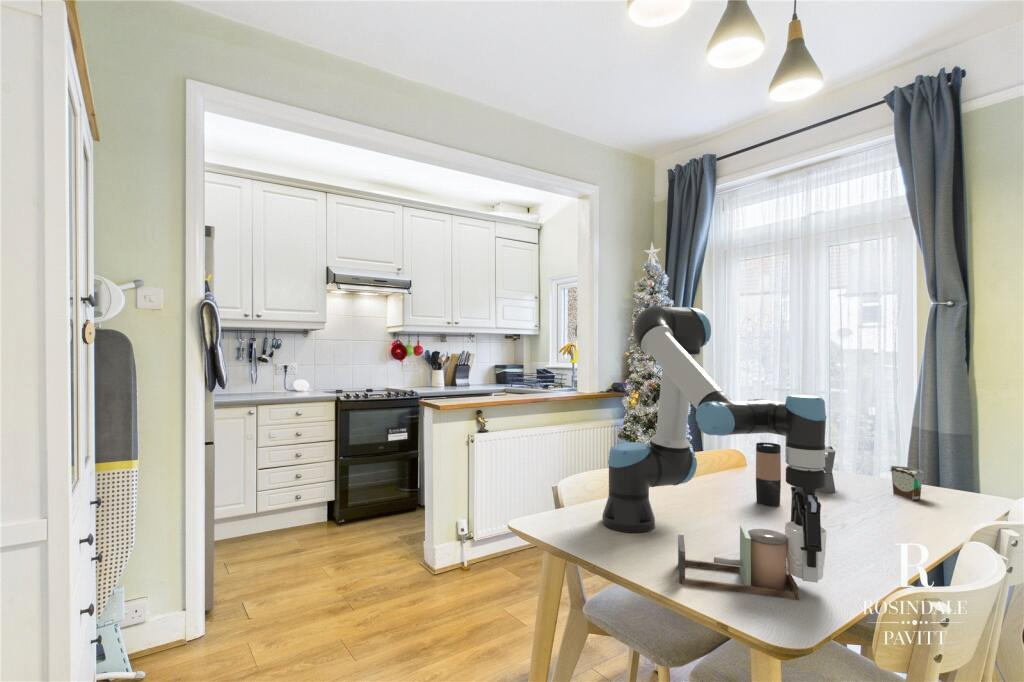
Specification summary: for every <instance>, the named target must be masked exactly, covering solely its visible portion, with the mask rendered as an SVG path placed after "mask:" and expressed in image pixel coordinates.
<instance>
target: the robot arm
mask: <svg viewBox="0 0 1024 682" xmlns="http://www.w3.org/2000/svg"><path fill="white" fill-rule="evenodd" d="M632 331H633V337H634V340H635V342H636V344H637V346H638V347H639V348H640V349H641V351H642V352H643V353H644V354H645V355H647V356H651V357H652V358H653V359H654V360H655V362H656V363H657V364H658V366H660V368H661V370H662V371H661V379H660V389H659V390H660V391H659V401H658V409H657V410H658V411H657V422H656V431H655V434H654V435H652V436H651V437H650V441H649V444H648V443H645V442H639V441H635V442H634V441H633V442H630V441H628V442H622V443H618V444H615V445H613V446H612V447H611V448H610V450H609V452H608V460H607V463H608V497H607V499H606V502H605V503H606V504H605V506H604V508H603V512H602V521H601V522H602V524H603V525H604V526H605V527H606V528H609V529H611V530H615V531H618V532H624V533H645V532H650V531H653V530H654V529H655V527H656V519H655V515H654V512H653V508H652V504H651V502H650V498H649V497H650V488H651V487H652V488H653V487H654V488H655V487H665V486H679V485H682V484H686V483H688V482H689V481H691V480H692V479H693V477H694V476H695V474H696V470H697V469H698V468H697V467H698V461H697V457H695V456H696V452H695V451H694V450H693V448H691V442H690V441H689V440H688V438H686V437H687V428H688V418H689V417H688V416H689V408H690V403H691V405H692V406H693V407H694V408H695V410H696V412H695V421H696V422H697V427H698V429H699V430H700V431H701V432H702V433H703V434H706V435H707V436H719V437H721V436H731V435H732V436H733V435H750V434H751V435H752V434H773V435H779V436H785V447H784V448H785V449H784V450H785V463H786V466H785V482H786V484H788V485H790V486H791V487H790V490H791V503H790V504H791V508H790V522H795V524H796V525H798V526H802V528H803V539H804V547H800V549H801V550H802V579H801V580H802V581H803V582H808V583H816V584H818V583H819V580H818V552H821V551H822V548H821V527H822V525H821V509H822V508H821V507H822V503H821V502H820V501H819V498H818V496H817V495H816V491H815V490H816V489H821V488H824V487H825V471H824V469H822V468H824V467H825V457H828V453H825V447H826V428H827V427H826V426H827V425H826V423H827V414H826V413H827V412H826V404H825V403H826V402H825V400H824V399H823V397H821V396H816V395H806V394H789V395H787V396H786V398H785V399H786V400H785V402H784V401H783V402H782V401H774V400H767V399H764V398H748V399H747V400H735V401H734V400H732V399H731V398H730V397H729V396H728V394H726V392H724V390H723V389H722V388H721V387H720V386H719V385H718V384H717V383H716V382H715V380H713V378H711V376H710V375H708V373H707V372H706V371H705V370H704V369H703V367H701V366H700V365H699V364H698V362H697V361H696V360H695V359H696V358H697V357H699V356H700V355H701V348H703V347H704V346H706V345H707V344H708V342H709V341H710V338H711V336H712V325H711V322H710V318H709V317H707V314H706V313H705V312H704V311H703V310H701V309H700V308H696V307H688V306H663V305H653V306H649V307H647V308H645V309H644V310H642V311H640V313H638V315H637V316H636V319H635V320H634V322H633V330H632Z"/></svg>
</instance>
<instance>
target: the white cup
mask: <svg viewBox="0 0 1024 682" xmlns="http://www.w3.org/2000/svg"><path fill="white" fill-rule="evenodd" d="M784 535H785V536H786V537H787V543H786V559H787V571H788V572H789V573H790V574H791V575H792V577H793V576H794V577H795V578H798V579H801V580H802V550H801V549H800V547H804V539H803V528H802V526H798V525H796V524H795V522H791V521H787V522H785V523H784ZM826 544H827V530H826V529H825V528H824V527H822V526H821V548H822V551H821V552H818V581H820V580H822V579H823V577H824V566H825V559H826V550H827V549H826V546H827V545H826Z"/></svg>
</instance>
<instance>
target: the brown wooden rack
mask: <svg viewBox="0 0 1024 682" xmlns="http://www.w3.org/2000/svg"><path fill="white" fill-rule="evenodd" d="M684 537H685V536H684V534H678V536H677V538H678V539H677V541H678V542H677V543H678V544H677V550H678V551H677V552H678V553H677V555H678V556H677V565H678V567H677V568H678V583H679V584H682V585H684V586H693V587H700V588H705V589H706V588H707V589H713V590H714V589H715V590H722V591H730V592H736V593H746V594H752V595H758V596H759V595H760V596H766V597H775V598H782V599H790V600H798V601H799V588H800V587H799V586H798V584H797V582H796V581H795V579H794V578H793V575H791V574H790V573H789V572H788V571H787V589H788V590H785V591H784V590H776V589H768V588H761V587H753V586H752V585H751V586H745V585H744V584H736V583H727V582H722V581H714V580H713V581H712V580H706V579H698V578H689V577H686V566H687V567H694V568H703V569H712V570H719V571H726V572H734V573H735V572H736V573H740V566H737V565H729V564H721V563H714V561H703V560H696V559H695V560H694V559H689V558H688V559H686V546H685V544H686V543H685V538H684Z"/></svg>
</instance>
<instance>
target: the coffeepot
mask: <svg viewBox="0 0 1024 682" xmlns="http://www.w3.org/2000/svg"><path fill="white" fill-rule="evenodd" d="M836 452H837V451H836V450H835V449H834V448H833V446H831V445H830V446H825V453H828V457H825V467H824V468H822V469H824V471H825V487H824V488H821V489H816V490H815V493H816V492H817V493H824V494H834V493H836V486H835V481H834V473H833V469H834V465H835V464H834V463H835V457H836Z"/></svg>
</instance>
